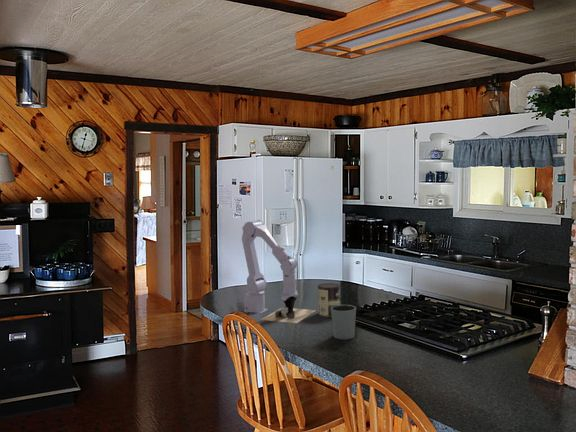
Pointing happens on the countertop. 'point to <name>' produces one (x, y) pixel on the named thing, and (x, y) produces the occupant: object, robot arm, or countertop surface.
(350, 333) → the grey cup
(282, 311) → the piston post
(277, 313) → the c ring
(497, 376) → the countertop surface
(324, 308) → the coffee can
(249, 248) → the robot arm
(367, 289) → the countertop surface
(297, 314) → the board
